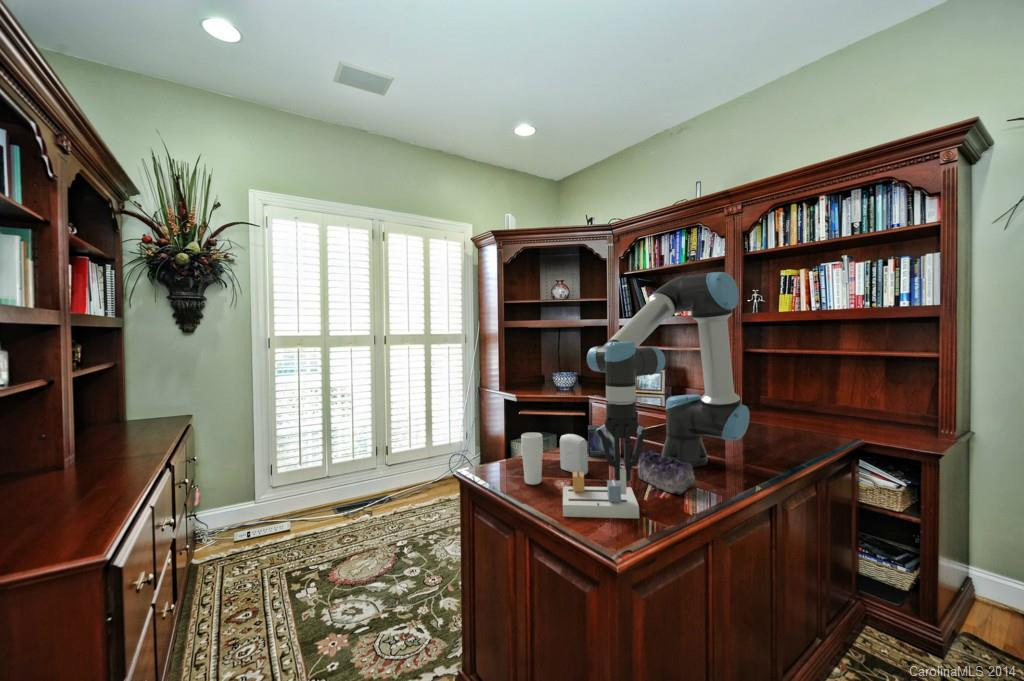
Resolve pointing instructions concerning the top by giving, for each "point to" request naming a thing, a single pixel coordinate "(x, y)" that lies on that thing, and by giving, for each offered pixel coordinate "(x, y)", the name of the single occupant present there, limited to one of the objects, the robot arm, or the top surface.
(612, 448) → the small box
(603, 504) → the fader console
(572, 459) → the white slotted device
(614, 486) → the slate fader
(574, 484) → the orange fader
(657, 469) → the geode
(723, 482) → the top surface
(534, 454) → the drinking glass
